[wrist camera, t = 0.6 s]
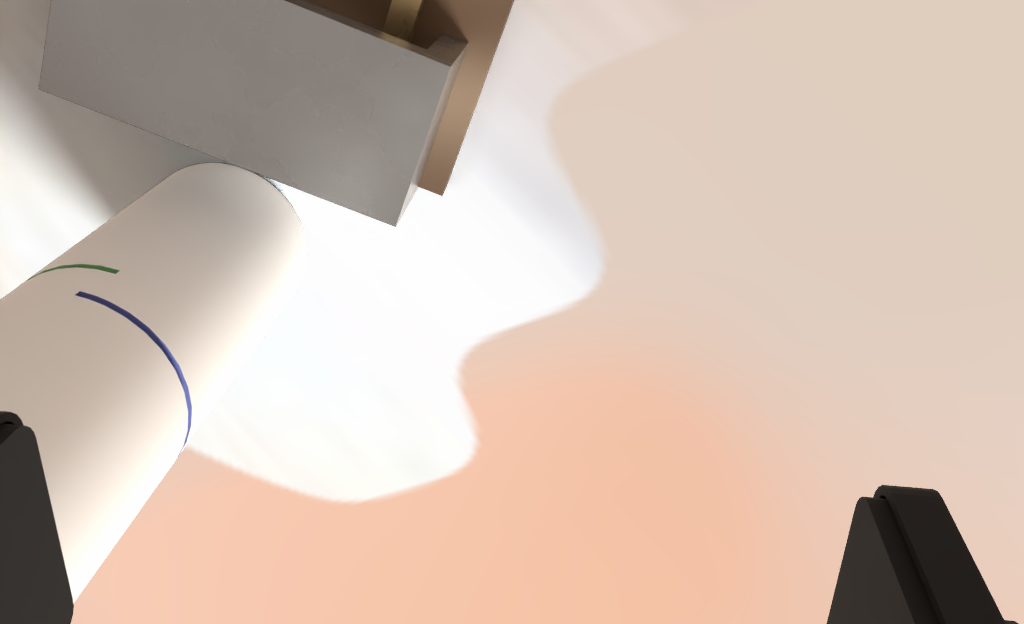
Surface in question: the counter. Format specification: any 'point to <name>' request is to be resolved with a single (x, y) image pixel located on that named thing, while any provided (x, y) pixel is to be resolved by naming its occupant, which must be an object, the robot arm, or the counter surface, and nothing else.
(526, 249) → the counter surface
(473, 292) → the counter surface
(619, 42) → the counter surface
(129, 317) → the cylindrical container
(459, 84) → the board
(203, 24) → the overhang dock
